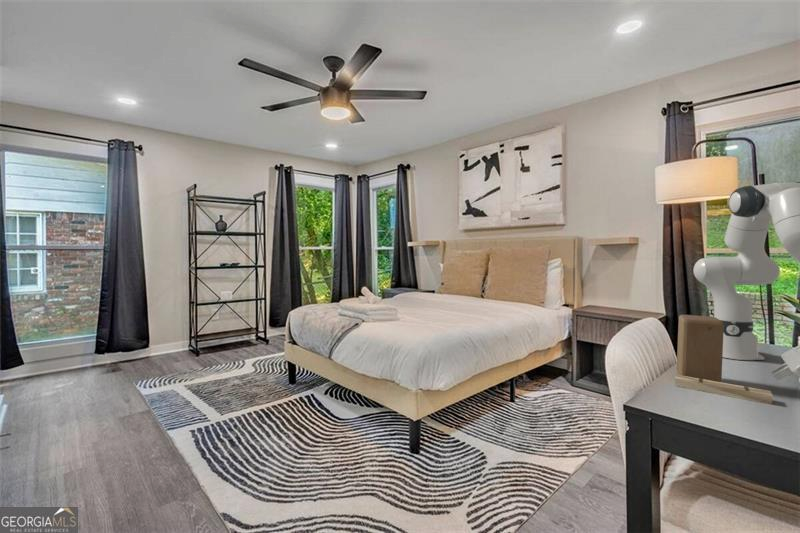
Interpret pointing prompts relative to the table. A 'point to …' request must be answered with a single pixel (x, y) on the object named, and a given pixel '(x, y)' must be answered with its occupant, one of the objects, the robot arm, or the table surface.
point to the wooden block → (700, 347)
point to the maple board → (724, 389)
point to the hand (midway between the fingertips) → (773, 376)
